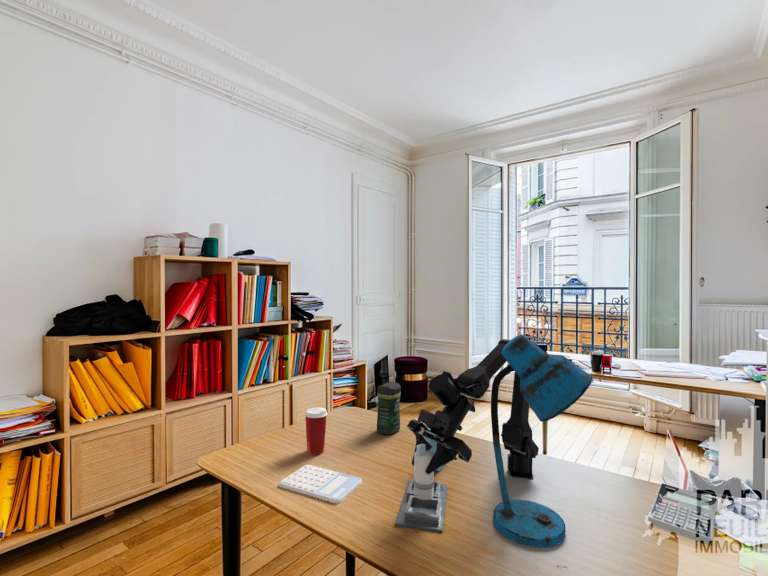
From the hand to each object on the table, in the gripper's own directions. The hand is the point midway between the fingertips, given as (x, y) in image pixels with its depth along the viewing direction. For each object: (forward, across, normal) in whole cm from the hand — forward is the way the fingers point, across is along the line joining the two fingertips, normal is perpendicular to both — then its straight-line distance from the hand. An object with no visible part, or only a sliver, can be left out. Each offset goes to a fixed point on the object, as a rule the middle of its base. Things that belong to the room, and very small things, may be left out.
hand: (419, 469), depth 96 cm
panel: (+5, -3, +11) cm, 13 cm away
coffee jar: (-11, -50, +28) cm, 59 cm away
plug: (+4, 0, +6) cm, 7 cm away
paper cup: (+12, -48, +5) cm, 50 cm away
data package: (-8, -19, +25) cm, 32 cm away
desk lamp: (-6, +19, +23) cm, 30 cm away
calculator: (+18, -28, 0) cm, 33 cm away
